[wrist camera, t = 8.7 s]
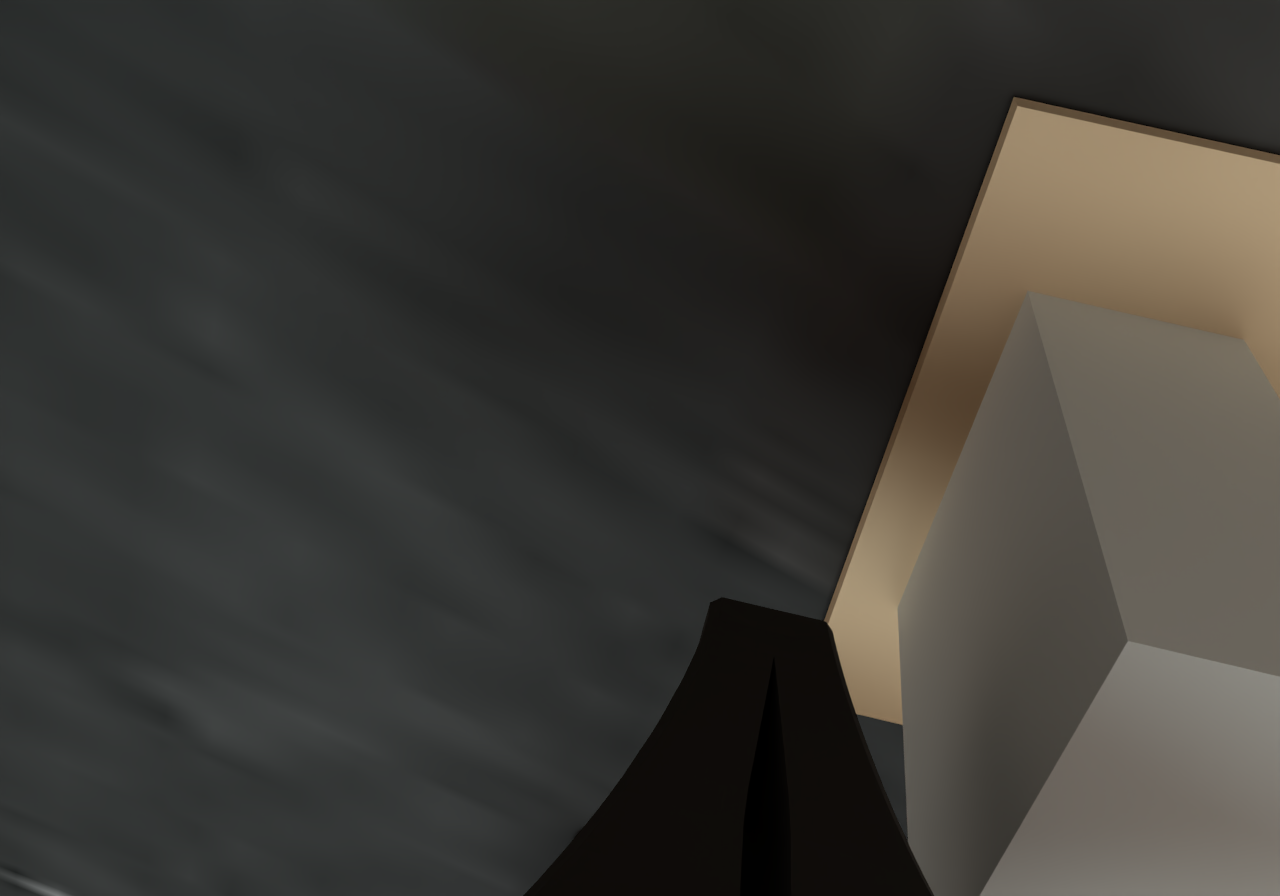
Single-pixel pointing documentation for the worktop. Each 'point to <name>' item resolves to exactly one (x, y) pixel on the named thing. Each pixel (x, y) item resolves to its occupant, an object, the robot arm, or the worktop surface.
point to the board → (1064, 268)
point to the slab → (1101, 622)
